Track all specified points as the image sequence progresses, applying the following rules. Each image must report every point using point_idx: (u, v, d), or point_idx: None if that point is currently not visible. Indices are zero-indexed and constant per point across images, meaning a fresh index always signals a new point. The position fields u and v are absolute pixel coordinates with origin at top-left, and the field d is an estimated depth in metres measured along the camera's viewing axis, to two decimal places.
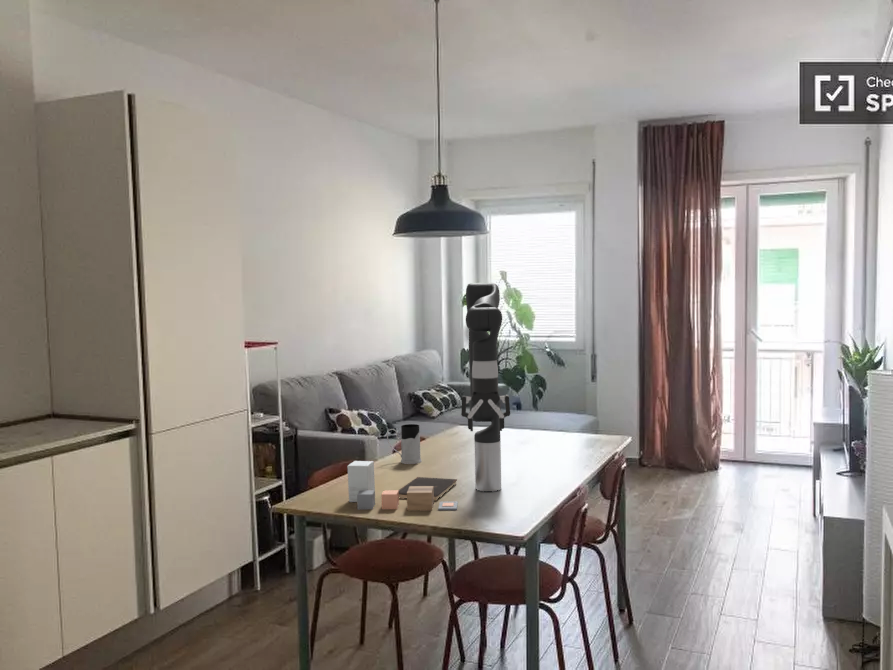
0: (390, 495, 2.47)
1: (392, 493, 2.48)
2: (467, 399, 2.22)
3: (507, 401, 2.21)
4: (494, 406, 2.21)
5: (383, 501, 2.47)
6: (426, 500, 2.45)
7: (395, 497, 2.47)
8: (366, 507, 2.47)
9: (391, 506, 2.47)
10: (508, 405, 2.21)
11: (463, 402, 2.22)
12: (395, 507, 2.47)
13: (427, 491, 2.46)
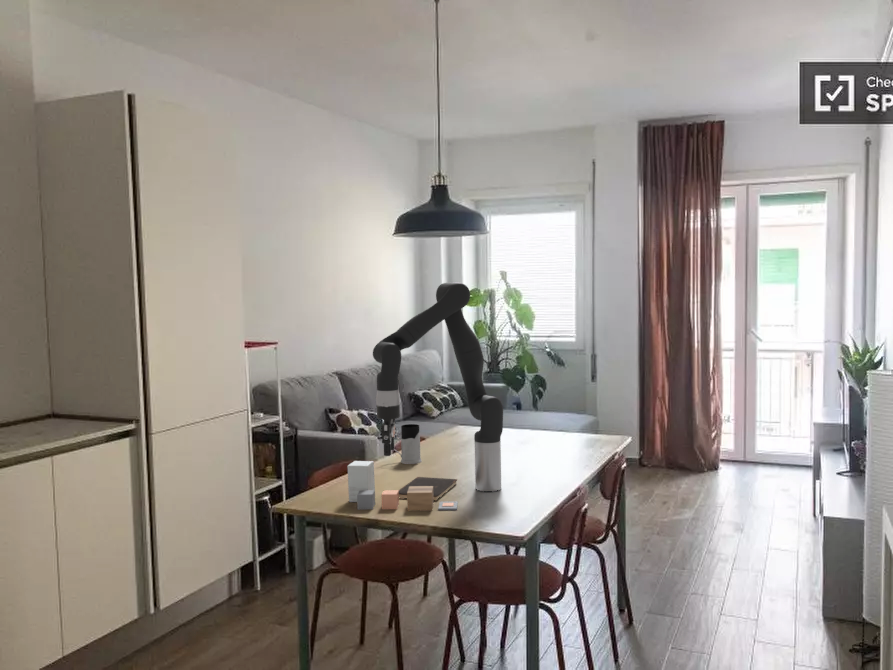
0: (390, 495, 2.47)
1: (392, 493, 2.48)
2: None
3: (394, 422, 2.54)
4: (394, 428, 2.50)
5: (383, 501, 2.47)
6: (426, 500, 2.45)
7: (395, 497, 2.47)
8: (366, 507, 2.47)
9: (391, 506, 2.47)
10: None
11: (389, 430, 2.41)
12: (395, 507, 2.47)
13: (427, 491, 2.46)
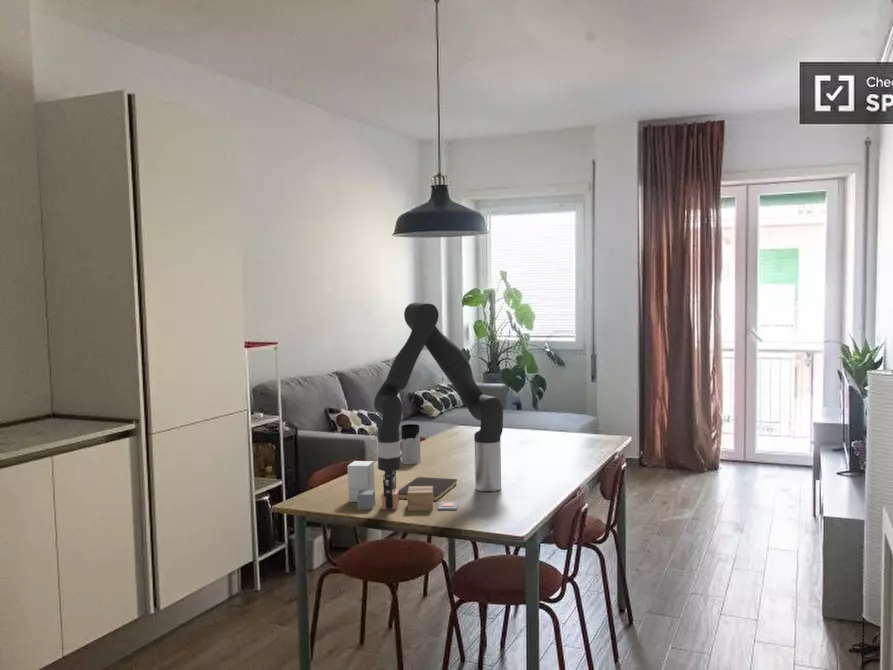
0: None
1: None
2: None
3: None
4: (395, 480, 2.51)
5: (383, 501, 2.47)
6: (427, 500, 2.45)
7: (395, 497, 2.47)
8: (366, 507, 2.47)
9: None
10: None
11: (391, 485, 2.43)
12: (395, 507, 2.47)
13: (427, 491, 2.46)
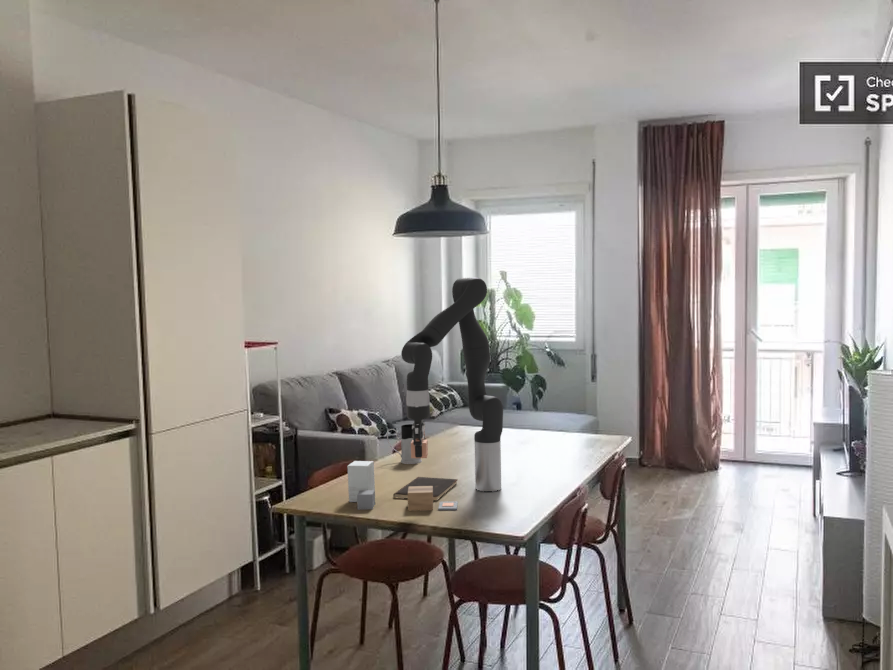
0: None
1: None
2: None
3: None
4: (424, 430, 2.49)
5: (412, 450, 2.46)
6: (427, 500, 2.45)
7: (424, 446, 2.45)
8: (366, 507, 2.47)
9: None
10: None
11: (420, 433, 2.41)
12: (424, 456, 2.45)
13: (428, 491, 2.46)
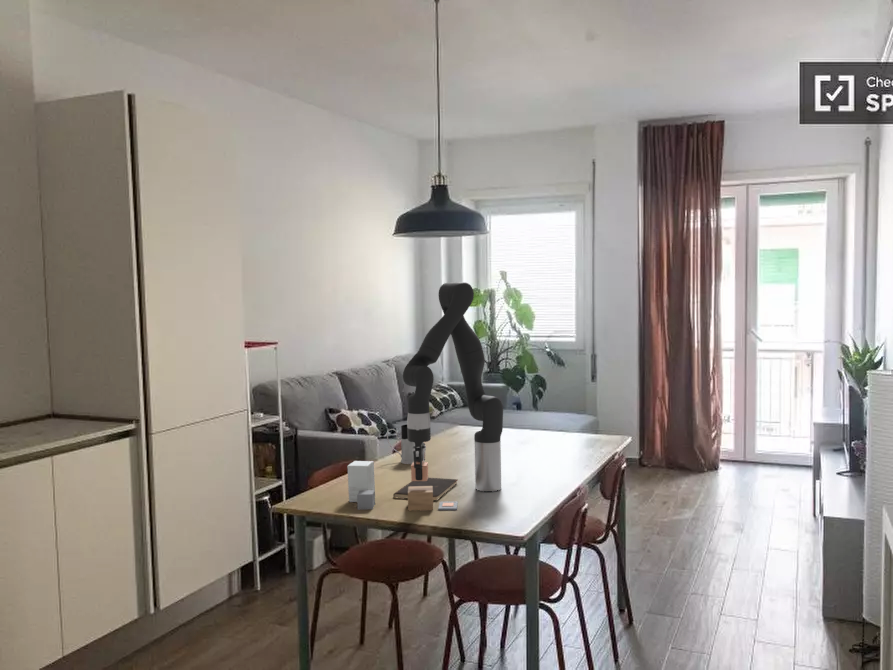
0: None
1: None
2: None
3: None
4: None
5: (413, 472, 2.46)
6: (427, 500, 2.45)
7: (425, 468, 2.45)
8: (366, 507, 2.47)
9: None
10: None
11: (421, 456, 2.42)
12: (425, 478, 2.46)
13: (428, 491, 2.46)
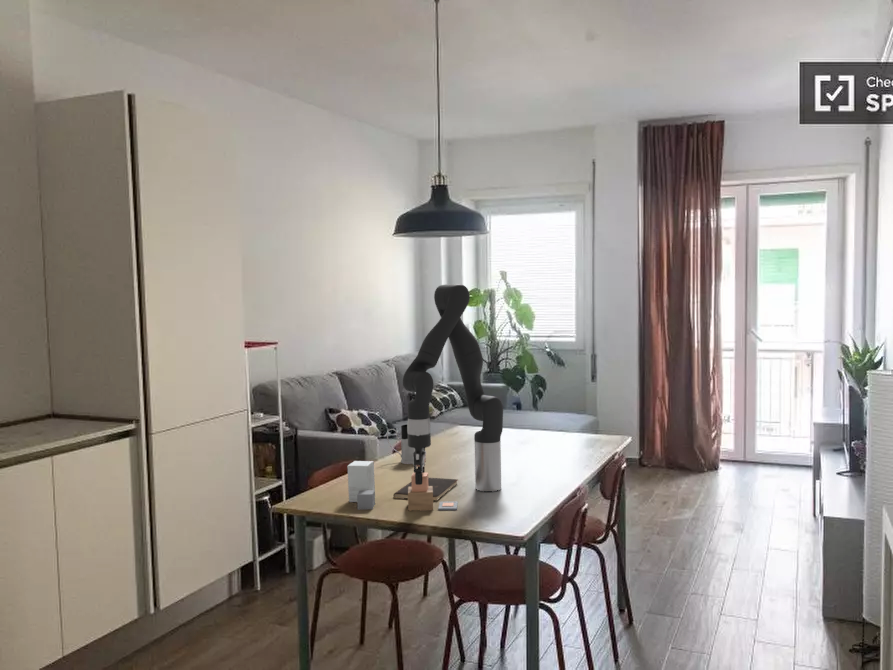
0: None
1: (422, 475, 2.47)
2: None
3: (424, 450, 2.54)
4: (425, 456, 2.50)
5: (413, 483, 2.46)
6: (427, 500, 2.45)
7: (425, 479, 2.46)
8: (366, 507, 2.47)
9: (421, 488, 2.46)
10: None
11: (421, 459, 2.41)
12: (425, 489, 2.46)
13: (428, 491, 2.46)
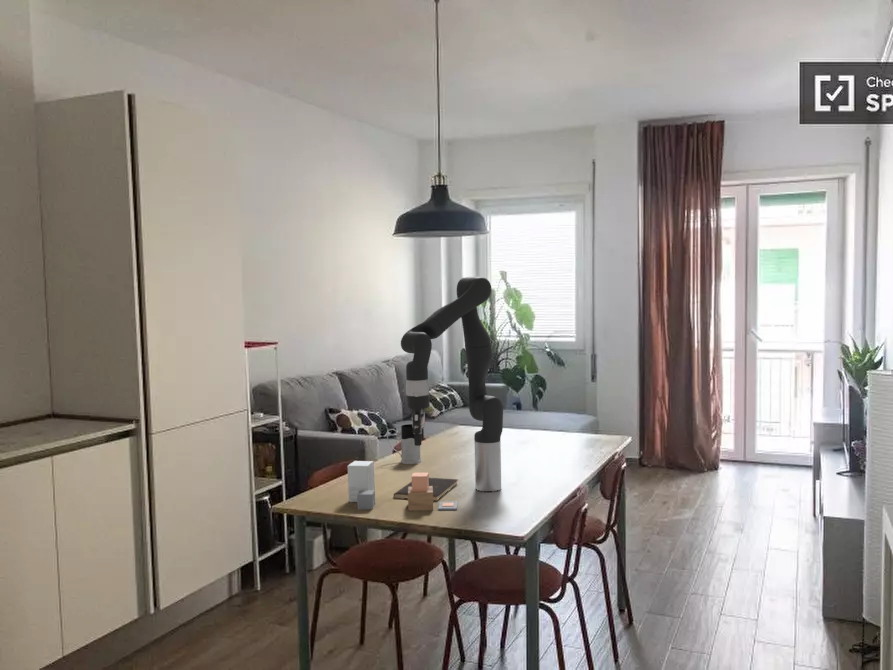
0: (420, 477, 2.46)
1: (422, 475, 2.47)
2: None
3: (423, 412, 2.53)
4: (424, 418, 2.50)
5: (413, 483, 2.46)
6: (427, 500, 2.45)
7: (425, 479, 2.46)
8: (366, 507, 2.47)
9: (422, 488, 2.46)
10: None
11: (420, 420, 2.41)
12: (425, 489, 2.46)
13: (428, 491, 2.46)
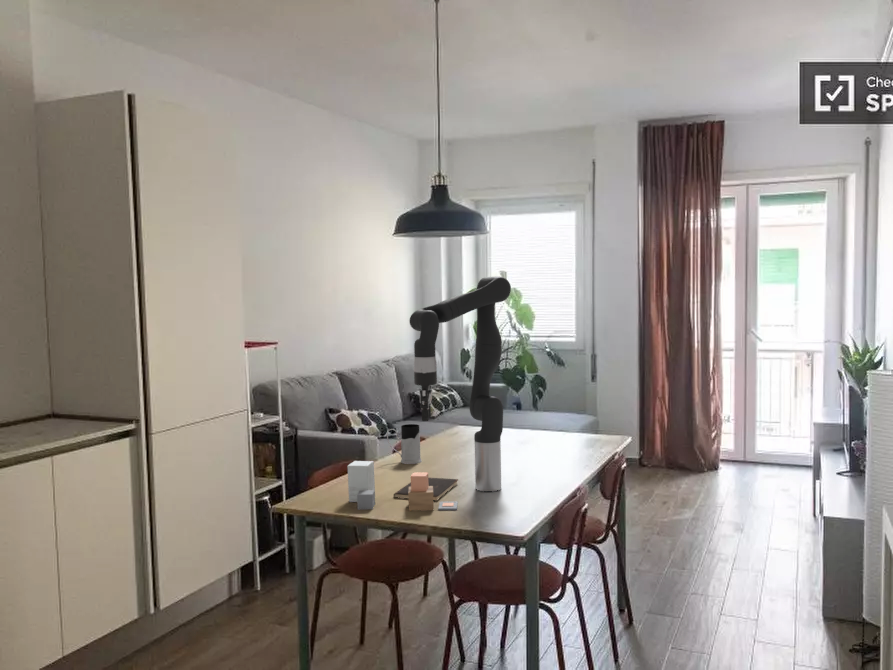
0: (419, 477, 2.46)
1: (421, 475, 2.47)
2: None
3: (431, 390, 2.59)
4: (431, 395, 2.55)
5: (412, 483, 2.46)
6: (428, 500, 2.45)
7: (424, 479, 2.46)
8: (366, 507, 2.47)
9: (421, 488, 2.46)
10: None
11: (427, 395, 2.46)
12: (424, 489, 2.46)
13: (428, 491, 2.46)
